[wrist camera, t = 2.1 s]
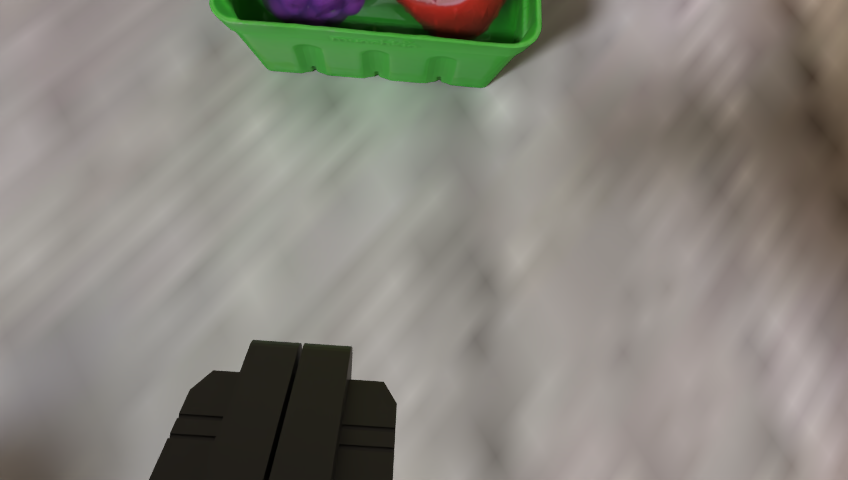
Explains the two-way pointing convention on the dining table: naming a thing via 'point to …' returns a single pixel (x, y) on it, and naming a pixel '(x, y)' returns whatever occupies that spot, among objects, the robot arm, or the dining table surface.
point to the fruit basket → (386, 36)
